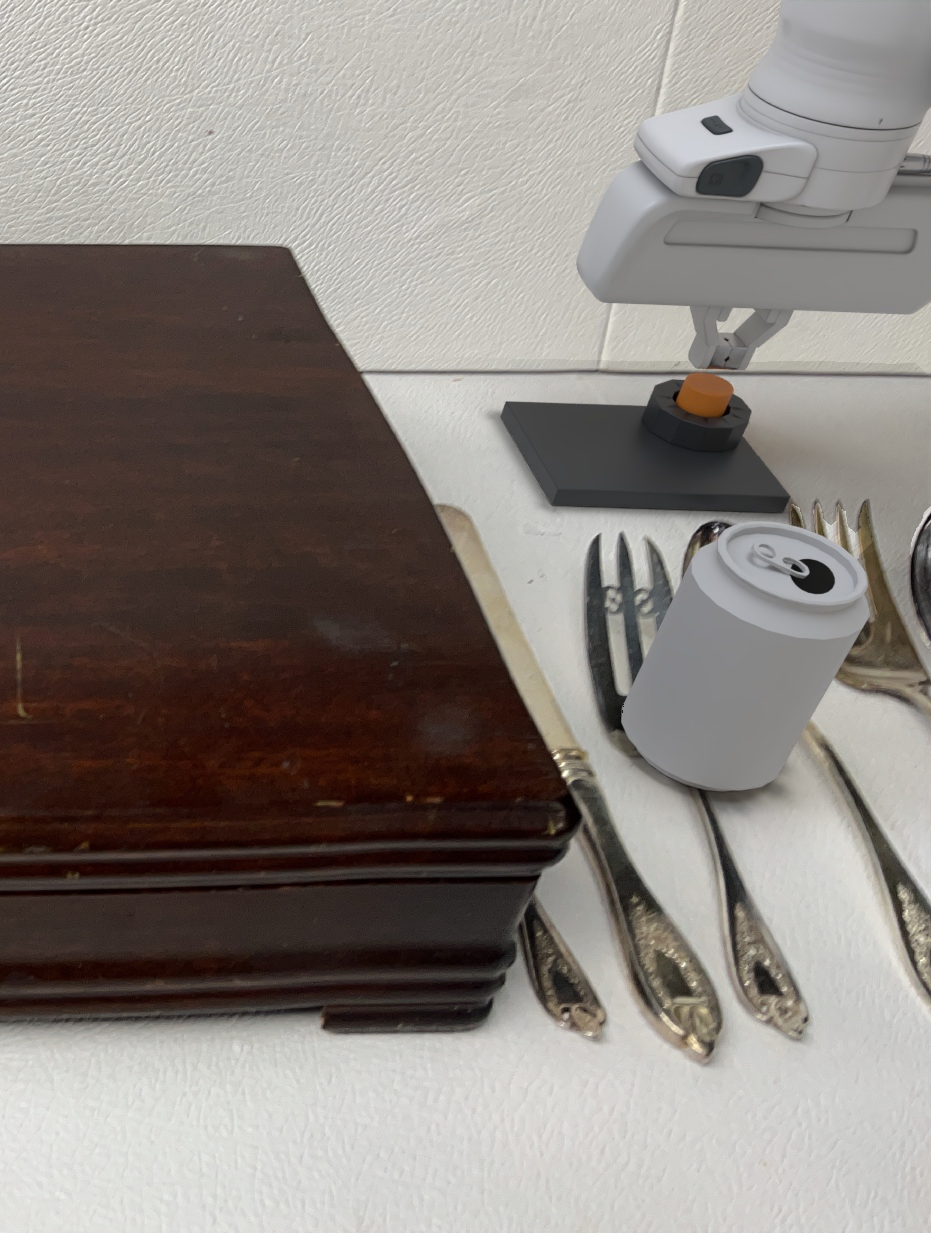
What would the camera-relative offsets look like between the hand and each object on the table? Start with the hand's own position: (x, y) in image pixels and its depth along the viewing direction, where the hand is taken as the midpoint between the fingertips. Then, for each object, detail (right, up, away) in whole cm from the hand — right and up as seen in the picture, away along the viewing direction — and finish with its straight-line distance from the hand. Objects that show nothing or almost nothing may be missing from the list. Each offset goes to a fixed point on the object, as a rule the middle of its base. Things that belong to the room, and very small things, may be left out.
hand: (715, 365), depth 97 cm
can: (-11, -22, -18) cm, 31 cm away
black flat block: (-4, -6, +2) cm, 7 cm away
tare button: (0, -2, +2) cm, 3 cm away
